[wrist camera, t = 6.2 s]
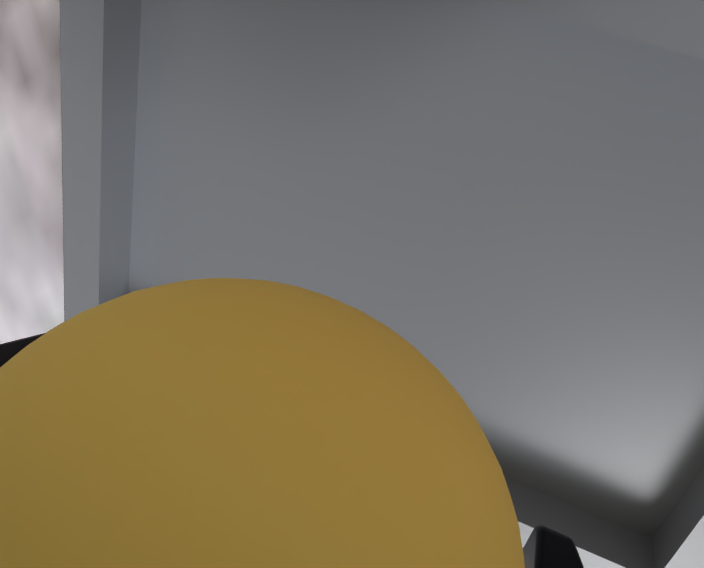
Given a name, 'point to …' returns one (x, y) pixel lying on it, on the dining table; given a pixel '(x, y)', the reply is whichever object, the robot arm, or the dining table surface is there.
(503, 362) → the tray
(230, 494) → the ball
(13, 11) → the dining table surface
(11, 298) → the dining table surface
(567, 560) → the robot arm
